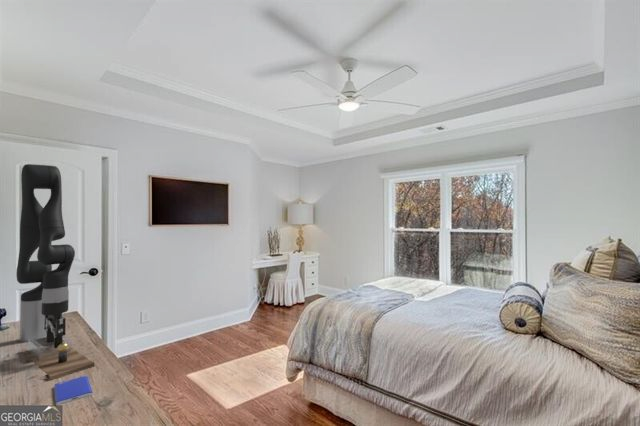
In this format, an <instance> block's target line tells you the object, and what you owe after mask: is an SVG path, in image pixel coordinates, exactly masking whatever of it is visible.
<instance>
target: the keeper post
mask: <svg viewBox="0 0 640 426" xmlns="http://www.w3.org/2000/svg"><path fill="white" fill-rule="evenodd" d="M68 348H69V345H68V344H67V343H61V344H60V345H59V346H58V347H57V350H58V352H59V355H58V363H63V362H66V361H67V350H68Z"/></svg>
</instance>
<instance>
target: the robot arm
mask: <svg viewBox="0 0 640 426" xmlns="http://www.w3.org/2000/svg"><path fill="white" fill-rule="evenodd" d="M20 180H21V212H20V221H19V250H18V251H19V252H18V260H17V265H16V267H17V268H16V281H17V283H18V284H20V285H21V284H22V285H26V284H37V283H40V284H39V285H37V286H36V287H33V288H32V289H29V290H26V291H24V292H23V293H21V295H20V310H19V311H20V315H19V342H22V343H24V342H25V343H28V340H31V339H35V338H39V337H44V336H47V339H46V342H47V343H51V342H54V348H57V347H58V346H59V345H60V344H61V343H62V338H63V337H64V336H66V318H65V317H63V314H65V313H67V312H68V311H69V300H70V299H69V297H70V296H69V294H70V292H69V275H70V274H69V273H70V272H71V268H72V265H73V262H74V259H75V256H76V250H75V248H74V247H73V246H72V245H71V244H66V243H65V244H52V242H54V241H59V240H62V239H63V238H65V236H66V231H65V225H64V224H65V223H64V218H63V210H62V209H63V207H62V205H63V204H62V203H63V202H62V201H63V200H62V199H63V190H62V176H61V171H60V169H59V168H58V167H57V166H56V165H49V164H48V165H46V164H33V163H32V164H31V163H30V164H29V163H28V164H26V163H25V164H24V165H23V167H22V169H21V179H20ZM38 189H39V190H50V196H49V199H48V201H47V202H46V203H45V205H44V206H42V205H41V203H40V202H39V201H38V199H37V198H36V196H35V190H38ZM37 249H38V250H37ZM36 250H37V254H36V257H37V260H30V259H31V258H32V256H33V254H34V253H35V252H36ZM53 265H58V266H57V267H56V268H55V269H53Z"/></svg>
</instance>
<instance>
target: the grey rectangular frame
mask: <svg viewBox="0 0 640 426" xmlns="http://www.w3.org/2000/svg"><path fill="white" fill-rule="evenodd" d="M46 339H47V336H44V337H39V338H35V339H31V340H28V342H27V350H28V351H29V352H30V353H31V354H32V355H33V356H35V357H36V358H37V359H38V360H43V359H47V358H50V357H54V356H57V355H59V352H58V350H57V348H54V342H51V343H47V342H46ZM62 343H67V344H68V345H69V348H68V350H67V353H68V352H71V348H72V347H71V346H72V345H71V344H72V341H71V340H70V339H69V338H67V337H65V336H63V338H62Z"/></svg>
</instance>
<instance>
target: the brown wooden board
mask: <svg viewBox="0 0 640 426" xmlns="http://www.w3.org/2000/svg"><path fill="white" fill-rule="evenodd" d="M22 354H24V355H25V356H26V357H27V358H28V359H30V361H32V363H34V364H35V365H36V366H37V367H38V368H40V369H41V370H42V371H43V372H44V373H45V377H46V378H47V379H48V380H49V381H53V380H55V379H58V378H62V377H65V376H69V375H71V374H74V373H77V372H78V373H79V372H81V371H84V370H86V369H91V368H93V367H95V362H94V361H92V360H91V359H89V358H88V357H86V356H85V355H83V354H82V353H80V352H79V351H77V350H75V349H74V348H72V347H71V352H68V353H67V361H66V362H63V363H58V355H57V356H54V357H50V358H47V359H43V360H38V359H37V358H36V357H35V356H33V355H32V354H31V353H30V352H29V351H28V349H27V350H25V351H22Z"/></svg>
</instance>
